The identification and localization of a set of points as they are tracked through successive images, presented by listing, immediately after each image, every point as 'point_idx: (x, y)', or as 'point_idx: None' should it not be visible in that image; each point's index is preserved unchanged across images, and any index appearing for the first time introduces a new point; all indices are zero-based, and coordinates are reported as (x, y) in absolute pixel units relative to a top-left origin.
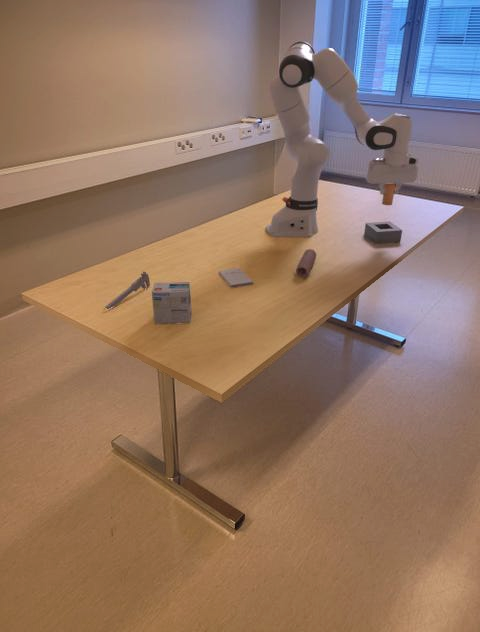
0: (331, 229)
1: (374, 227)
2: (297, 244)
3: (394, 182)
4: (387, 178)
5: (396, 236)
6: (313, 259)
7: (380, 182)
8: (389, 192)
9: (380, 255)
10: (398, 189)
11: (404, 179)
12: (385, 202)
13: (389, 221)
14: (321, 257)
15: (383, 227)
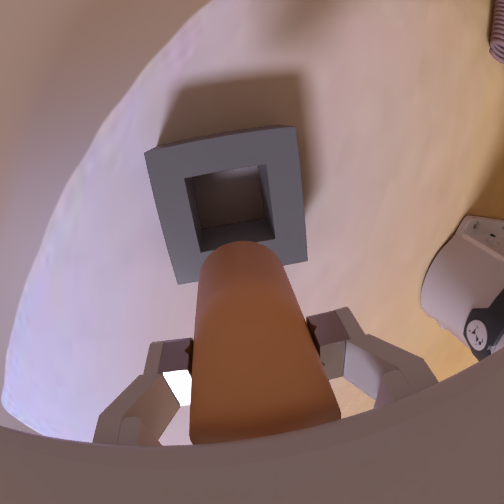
0: (385, 286)
1: (287, 195)
2: (498, 165)
3: (230, 447)
4: (420, 471)
5: (176, 143)
6: (502, 15)
7: (487, 368)
8: (273, 315)
9: (300, 4)
10: (140, 376)
11: (54, 478)
12: (275, 259)
13: (179, 283)
14: (473, 55)
15: (217, 241)
